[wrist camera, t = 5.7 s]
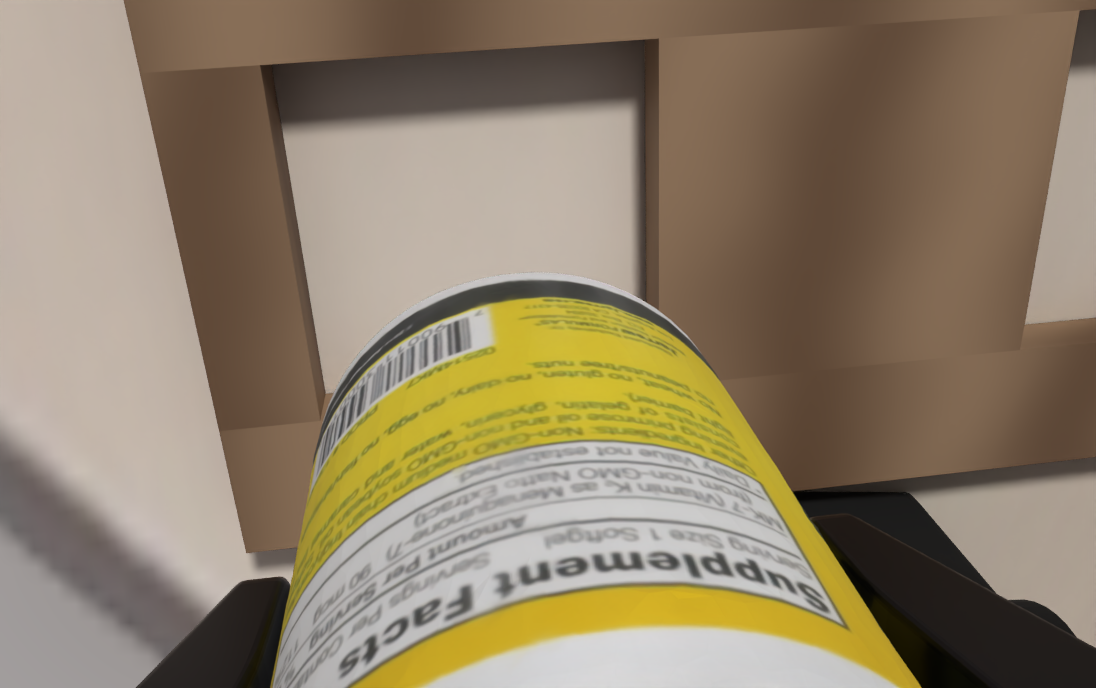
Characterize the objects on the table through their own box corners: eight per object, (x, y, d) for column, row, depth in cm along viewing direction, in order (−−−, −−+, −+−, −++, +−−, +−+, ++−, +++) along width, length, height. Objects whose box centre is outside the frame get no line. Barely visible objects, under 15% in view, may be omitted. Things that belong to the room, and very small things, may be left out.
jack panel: (1506, -188, 18) (1587, -196, 17) (1312, 404, 24) (1363, 431, 23) (118, -121, 16) (92, -125, 15) (255, 520, 21) (245, 558, 20)
